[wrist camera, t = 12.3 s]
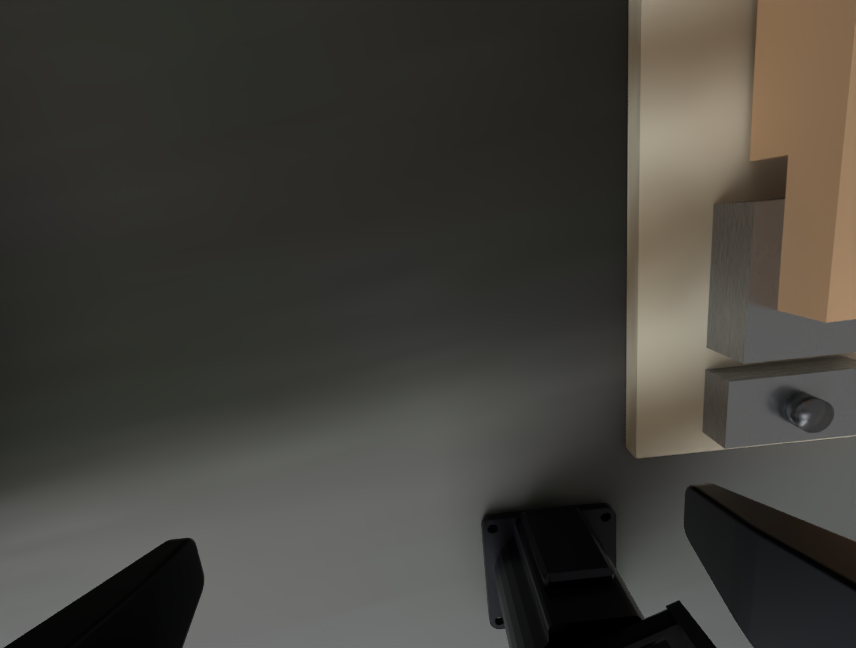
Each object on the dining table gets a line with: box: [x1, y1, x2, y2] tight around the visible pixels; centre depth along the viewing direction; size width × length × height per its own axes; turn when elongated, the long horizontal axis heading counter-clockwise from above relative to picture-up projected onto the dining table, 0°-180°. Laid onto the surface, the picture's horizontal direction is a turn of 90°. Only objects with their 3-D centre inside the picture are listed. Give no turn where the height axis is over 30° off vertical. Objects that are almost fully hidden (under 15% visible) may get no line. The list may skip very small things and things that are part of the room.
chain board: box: [626, 0, 856, 459], centre depth 17 cm, size 32×12×1 cm, turn 6°
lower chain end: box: [702, 197, 856, 449], centre depth 18 cm, size 10×6×2 cm, turn 6°
